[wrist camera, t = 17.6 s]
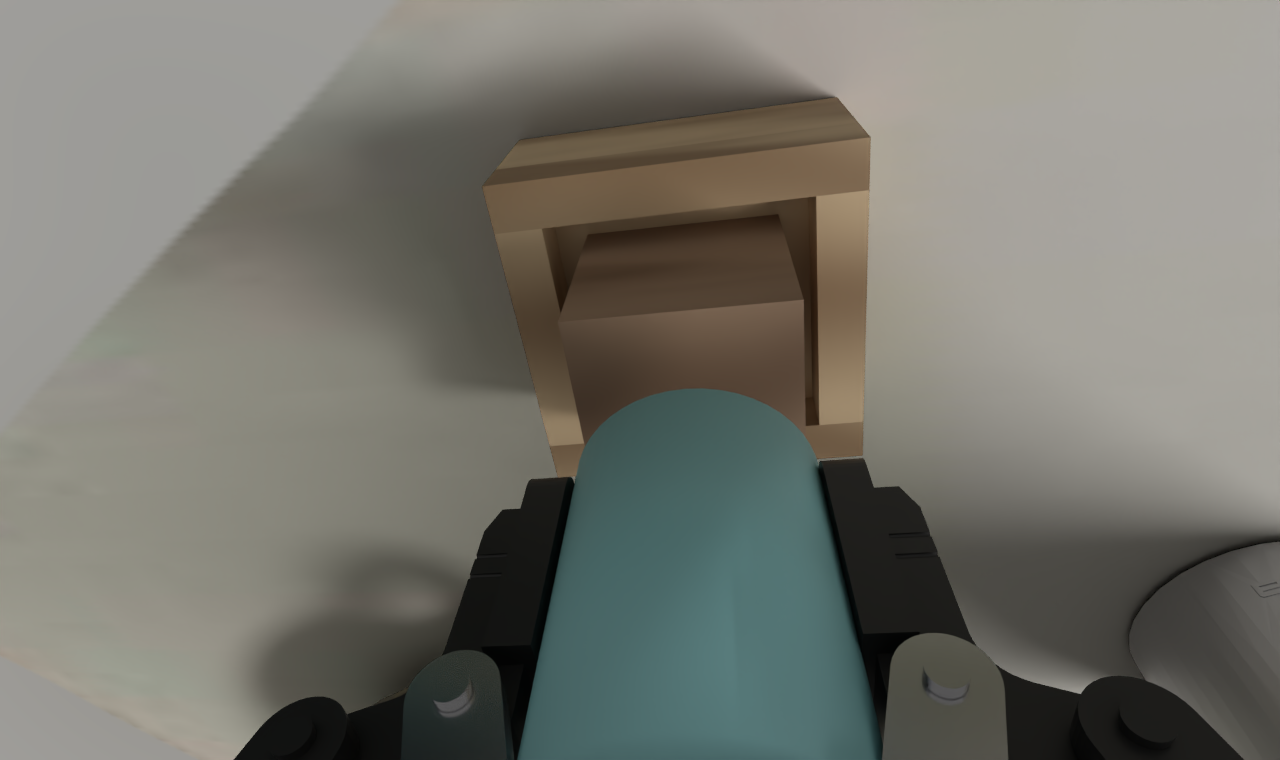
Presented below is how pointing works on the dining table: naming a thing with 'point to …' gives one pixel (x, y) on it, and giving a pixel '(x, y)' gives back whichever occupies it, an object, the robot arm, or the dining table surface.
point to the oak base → (692, 193)
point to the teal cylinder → (699, 597)
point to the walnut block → (685, 317)
